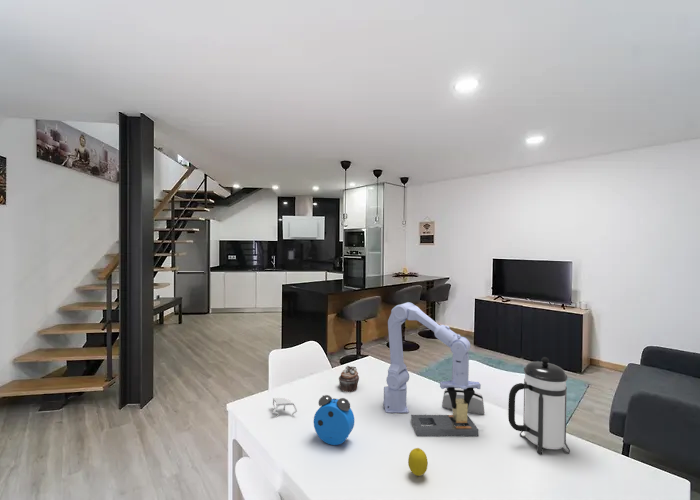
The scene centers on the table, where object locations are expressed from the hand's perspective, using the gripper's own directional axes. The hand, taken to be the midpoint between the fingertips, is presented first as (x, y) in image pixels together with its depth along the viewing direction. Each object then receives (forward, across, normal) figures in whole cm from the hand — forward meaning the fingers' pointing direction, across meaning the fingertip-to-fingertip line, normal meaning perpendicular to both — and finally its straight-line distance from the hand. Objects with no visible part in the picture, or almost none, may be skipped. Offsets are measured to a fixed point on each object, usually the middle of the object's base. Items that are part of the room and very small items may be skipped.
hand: (459, 407), depth 119 cm
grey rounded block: (+8, +7, +14) cm, 18 cm away
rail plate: (+8, -6, 0) cm, 10 cm away
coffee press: (+8, +24, -10) cm, 28 cm away
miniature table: (+8, -67, +10) cm, 68 cm away
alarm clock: (+8, -46, -8) cm, 48 cm away
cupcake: (+8, -40, +34) cm, 53 cm away
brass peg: (+4, 0, 0) cm, 5 cm away
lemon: (+8, -22, -25) cm, 34 cm away
